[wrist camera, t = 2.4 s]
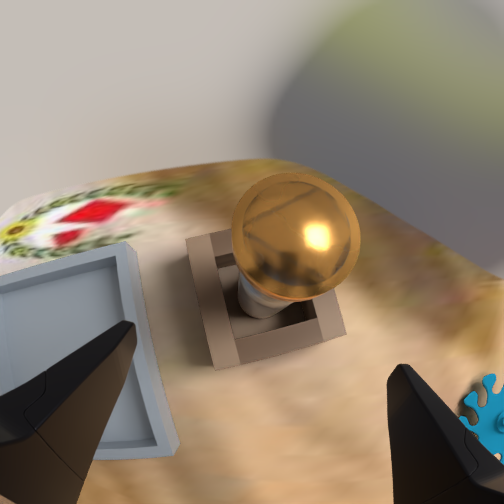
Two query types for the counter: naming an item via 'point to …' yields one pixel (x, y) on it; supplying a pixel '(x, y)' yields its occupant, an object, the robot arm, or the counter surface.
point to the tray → (81, 332)
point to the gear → (488, 417)
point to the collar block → (217, 320)
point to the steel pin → (291, 242)
